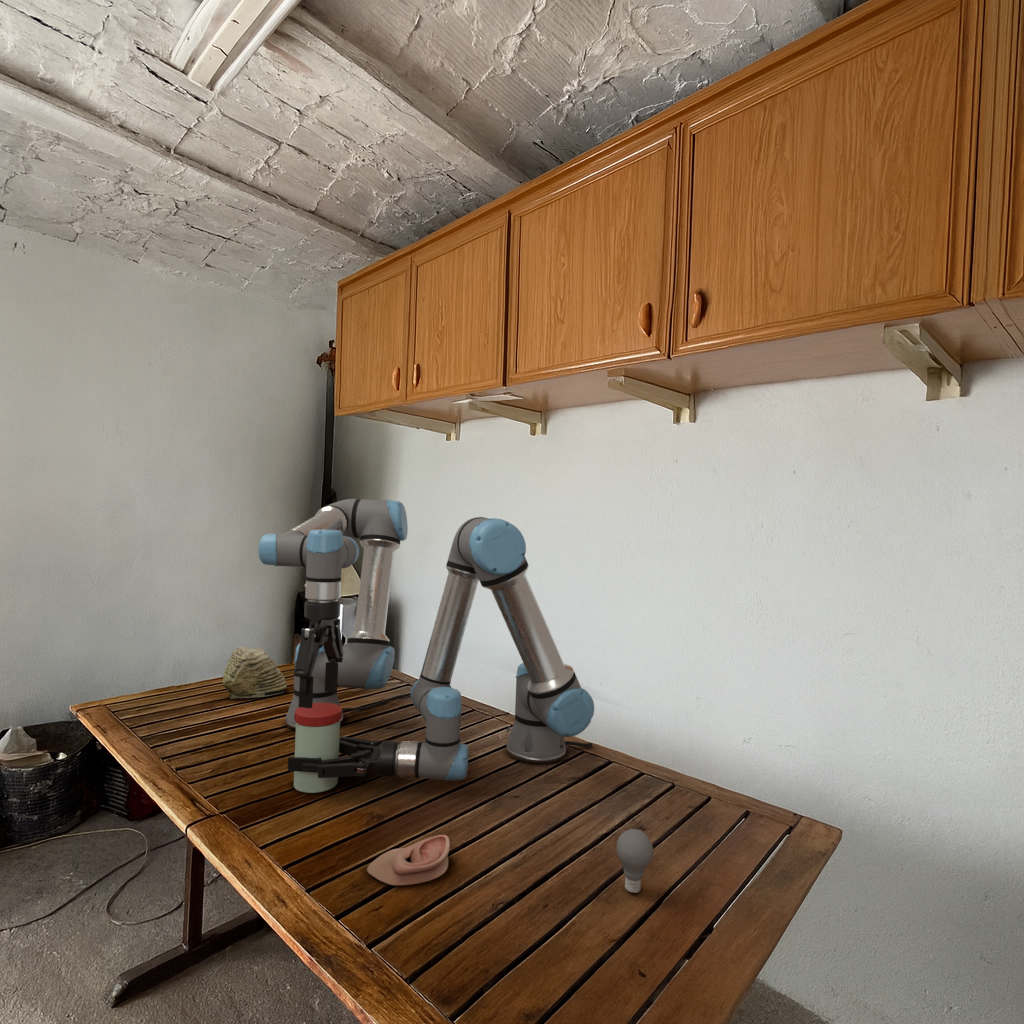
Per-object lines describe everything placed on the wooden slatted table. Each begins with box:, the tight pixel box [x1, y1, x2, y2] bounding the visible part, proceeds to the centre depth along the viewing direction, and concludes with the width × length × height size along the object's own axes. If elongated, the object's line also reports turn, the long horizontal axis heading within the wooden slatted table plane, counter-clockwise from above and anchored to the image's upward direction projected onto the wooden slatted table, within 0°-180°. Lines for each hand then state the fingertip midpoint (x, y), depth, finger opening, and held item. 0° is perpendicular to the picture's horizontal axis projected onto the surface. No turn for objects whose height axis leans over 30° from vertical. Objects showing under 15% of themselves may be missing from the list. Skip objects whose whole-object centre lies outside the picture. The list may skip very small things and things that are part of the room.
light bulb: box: [615, 828, 654, 894], centre depth 106 cm, size 6×6×10 cm
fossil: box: [222, 646, 288, 699], centre depth 198 cm, size 9×18×15 cm, turn 132°
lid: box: [294, 703, 343, 726], centre depth 140 cm, size 10×10×2 cm
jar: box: [293, 721, 341, 794], centre depth 140 cm, size 9×9×16 cm
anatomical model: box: [366, 834, 451, 886], centre depth 109 cm, size 13×4×12 cm
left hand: (318, 699), depth 139 cm, fingers open, 11 cm apart
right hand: (296, 754), depth 140 cm, fingers closed on jar, 9 cm apart
